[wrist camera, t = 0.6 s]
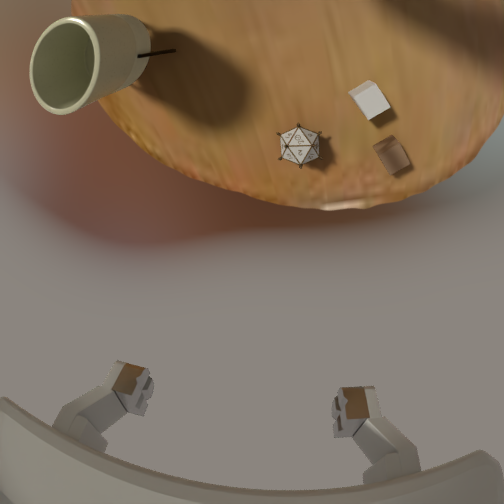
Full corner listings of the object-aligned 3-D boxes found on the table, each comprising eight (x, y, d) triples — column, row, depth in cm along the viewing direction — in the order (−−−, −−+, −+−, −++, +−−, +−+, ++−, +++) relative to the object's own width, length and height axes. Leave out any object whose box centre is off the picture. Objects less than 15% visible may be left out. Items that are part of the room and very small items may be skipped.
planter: (97, 61, 40) (18, 90, 23) (137, 4, 31) (55, 3, 14) (142, 96, 46) (70, 136, 30) (188, 39, 37) (119, 45, 21)
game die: (290, 132, 52) (258, 131, 46) (323, 117, 46) (295, 113, 40) (303, 172, 54) (273, 177, 47) (338, 160, 48) (312, 163, 41)
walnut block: (391, 134, 45) (399, 143, 41) (402, 153, 47) (410, 163, 43) (372, 145, 48) (378, 155, 44) (383, 164, 50) (390, 175, 46)
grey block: (368, 80, 38) (375, 83, 35) (382, 101, 41) (390, 107, 37) (347, 92, 41) (352, 97, 38) (362, 113, 43) (368, 120, 40)
